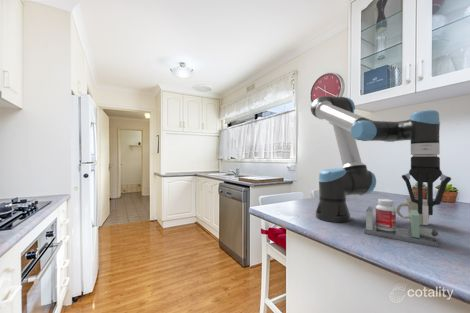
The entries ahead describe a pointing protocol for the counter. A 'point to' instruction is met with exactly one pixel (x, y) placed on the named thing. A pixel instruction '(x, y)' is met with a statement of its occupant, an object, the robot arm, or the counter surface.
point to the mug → (410, 207)
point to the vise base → (398, 233)
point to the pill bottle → (385, 215)
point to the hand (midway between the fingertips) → (425, 223)
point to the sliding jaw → (416, 229)
